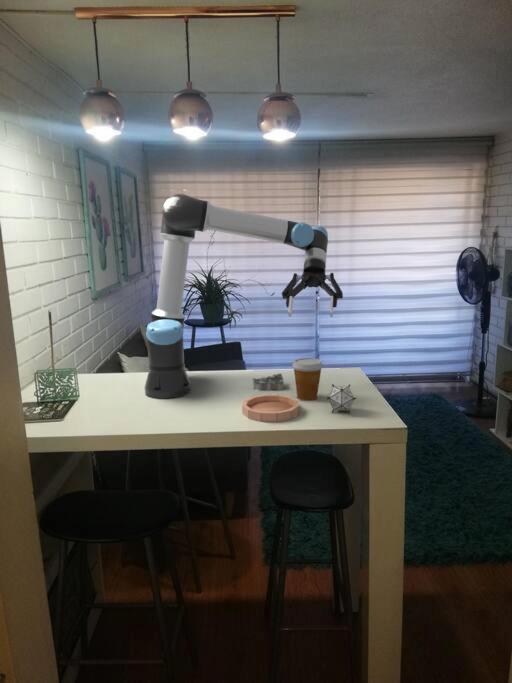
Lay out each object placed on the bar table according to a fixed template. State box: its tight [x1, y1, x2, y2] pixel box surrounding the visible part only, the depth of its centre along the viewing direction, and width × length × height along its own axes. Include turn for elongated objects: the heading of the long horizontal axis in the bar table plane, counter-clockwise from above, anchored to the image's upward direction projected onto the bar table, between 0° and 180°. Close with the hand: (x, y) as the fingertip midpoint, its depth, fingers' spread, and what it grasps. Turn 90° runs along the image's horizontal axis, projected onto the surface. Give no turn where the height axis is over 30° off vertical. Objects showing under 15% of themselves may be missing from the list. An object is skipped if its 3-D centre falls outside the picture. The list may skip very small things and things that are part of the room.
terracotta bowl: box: [241, 394, 300, 423], centre depth 150 cm, size 16×16×2 cm
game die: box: [325, 383, 357, 414], centre depth 149 cm, size 9×8×10 cm
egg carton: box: [252, 373, 285, 391], centre depth 174 cm, size 11×8×4 cm
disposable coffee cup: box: [292, 357, 324, 402], centre depth 161 cm, size 10×10×12 cm
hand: (310, 314), depth 166 cm, fingers open, 13 cm apart
